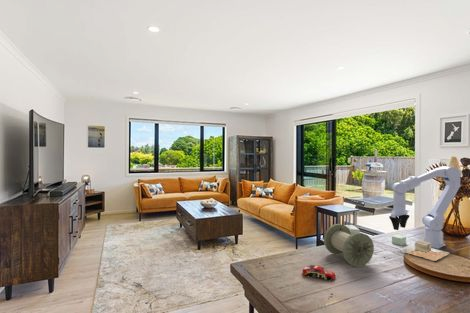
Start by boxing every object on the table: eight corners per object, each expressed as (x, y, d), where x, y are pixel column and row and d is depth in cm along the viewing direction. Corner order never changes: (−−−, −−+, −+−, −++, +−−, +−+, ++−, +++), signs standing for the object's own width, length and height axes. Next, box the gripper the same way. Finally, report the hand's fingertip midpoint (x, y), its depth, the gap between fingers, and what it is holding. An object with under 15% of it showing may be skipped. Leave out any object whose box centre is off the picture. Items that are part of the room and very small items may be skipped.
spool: (324, 254, 133) (323, 225, 133) (349, 251, 137) (349, 222, 137) (345, 268, 117) (345, 234, 117) (373, 264, 121) (373, 232, 121)
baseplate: (413, 245, 145) (413, 242, 145) (449, 254, 131) (449, 251, 131) (398, 251, 136) (398, 249, 136) (435, 262, 122) (435, 259, 122)
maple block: (419, 248, 137) (419, 240, 137) (430, 251, 133) (430, 243, 133) (415, 250, 134) (415, 242, 134) (426, 253, 130) (426, 245, 130)
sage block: (396, 241, 151) (396, 234, 151) (406, 244, 147) (406, 236, 147) (391, 243, 149) (391, 236, 149) (401, 245, 145) (401, 238, 145)
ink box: (343, 246, 145) (343, 224, 145) (353, 246, 145) (353, 224, 145) (350, 252, 136) (350, 229, 136) (360, 251, 136) (360, 229, 136)
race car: (336, 276, 110) (336, 267, 110) (335, 282, 105) (335, 272, 105) (303, 271, 116) (303, 262, 116) (301, 276, 111) (301, 266, 111)
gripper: (398, 201, 155) (398, 224, 155) (385, 204, 147) (385, 229, 147) (411, 203, 149) (411, 227, 149) (398, 206, 141) (398, 232, 141)
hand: (399, 228), depth 147 cm, fingers open, 7 cm apart
